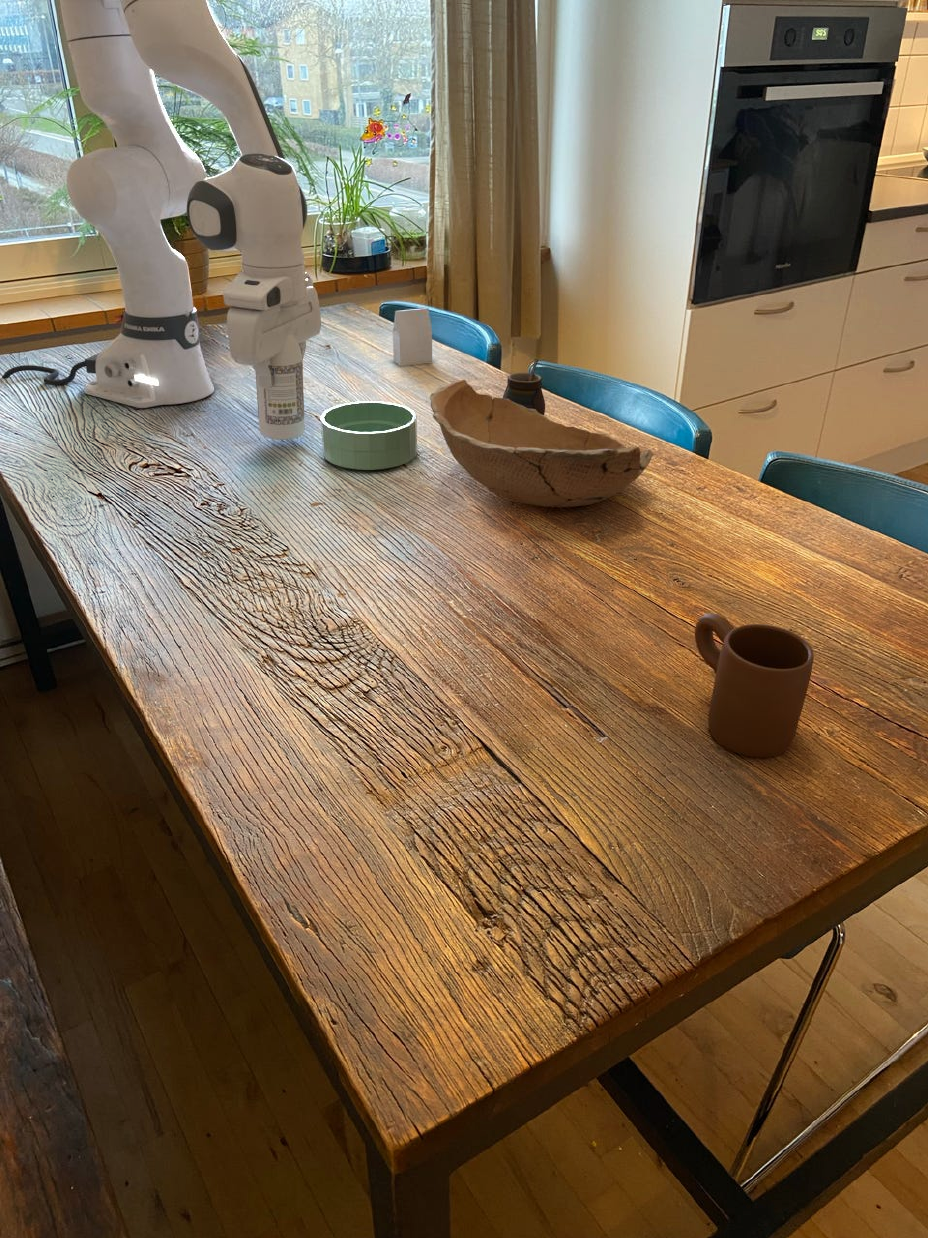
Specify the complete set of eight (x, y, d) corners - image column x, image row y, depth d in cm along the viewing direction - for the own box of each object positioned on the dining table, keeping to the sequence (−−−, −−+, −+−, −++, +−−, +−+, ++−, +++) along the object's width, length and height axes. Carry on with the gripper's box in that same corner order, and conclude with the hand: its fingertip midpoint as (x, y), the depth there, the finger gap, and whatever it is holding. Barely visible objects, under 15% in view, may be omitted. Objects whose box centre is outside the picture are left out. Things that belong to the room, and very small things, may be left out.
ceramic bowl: (671, 461, 133) (678, 364, 123) (614, 569, 114) (617, 465, 105) (483, 433, 144) (475, 342, 134) (403, 527, 125) (388, 430, 116)
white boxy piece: (432, 362, 180) (432, 310, 175) (400, 366, 178) (399, 313, 172) (424, 357, 183) (424, 306, 178) (393, 361, 180) (392, 308, 175)
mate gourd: (493, 428, 148) (495, 367, 143) (509, 414, 154) (511, 355, 149) (535, 435, 146) (539, 373, 141) (549, 420, 152) (553, 360, 147)
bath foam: (313, 435, 142) (309, 303, 131) (273, 444, 138) (266, 308, 127) (290, 421, 146) (284, 292, 135) (251, 429, 142) (242, 297, 131)
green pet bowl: (306, 464, 134) (303, 425, 131) (349, 433, 145) (348, 396, 142) (393, 478, 130) (392, 438, 127) (430, 446, 141) (430, 408, 138)
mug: (656, 698, 86) (670, 612, 81) (716, 675, 90) (733, 592, 85) (748, 772, 78) (769, 681, 73) (811, 744, 81) (835, 656, 76)
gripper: (292, 267, 139) (297, 358, 146) (215, 294, 123) (226, 395, 130) (329, 271, 137) (332, 363, 145) (256, 300, 121) (264, 401, 128)
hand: (281, 378), depth 137 cm, fingers closed on bath foam, 7 cm apart
